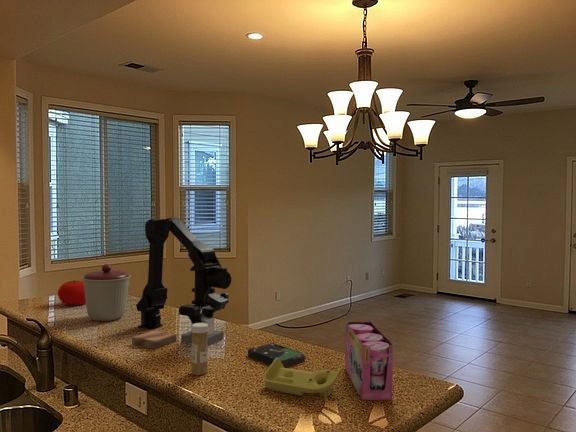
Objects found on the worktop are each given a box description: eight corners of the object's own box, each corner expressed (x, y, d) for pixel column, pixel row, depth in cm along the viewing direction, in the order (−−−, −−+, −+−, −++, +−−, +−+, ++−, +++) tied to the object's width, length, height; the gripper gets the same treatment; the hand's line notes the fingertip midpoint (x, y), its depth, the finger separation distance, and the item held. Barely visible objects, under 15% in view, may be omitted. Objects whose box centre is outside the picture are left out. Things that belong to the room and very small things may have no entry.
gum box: (395, 402, 120) (396, 346, 119) (362, 403, 119) (363, 347, 119) (370, 367, 144) (372, 321, 143) (343, 368, 143) (344, 321, 142)
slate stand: (181, 342, 165) (181, 334, 165) (199, 334, 174) (199, 327, 174) (206, 346, 160) (206, 339, 160) (223, 338, 169) (223, 331, 169)
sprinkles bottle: (208, 375, 136) (208, 326, 135) (191, 376, 135) (191, 326, 134) (207, 369, 140) (207, 321, 139) (190, 370, 139) (191, 322, 138)
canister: (116, 325, 184) (116, 268, 183) (71, 322, 187) (71, 266, 186) (138, 314, 202) (139, 262, 201) (97, 311, 205) (97, 260, 204)
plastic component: (259, 380, 127) (278, 353, 134) (268, 401, 129) (286, 375, 137) (327, 392, 116) (344, 363, 123) (335, 416, 118) (351, 385, 126)
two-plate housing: (191, 333, 166) (191, 317, 166) (199, 330, 170) (199, 314, 170) (206, 335, 164) (206, 320, 163) (214, 332, 168) (214, 317, 168)
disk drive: (247, 358, 152) (280, 370, 141) (247, 349, 152) (280, 360, 141) (272, 351, 159) (305, 362, 149) (272, 342, 159) (305, 352, 149)
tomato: (86, 299, 227) (86, 276, 227) (97, 304, 218) (97, 280, 217) (53, 303, 218) (53, 280, 217) (63, 309, 208) (63, 284, 208)
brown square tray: (131, 344, 161) (131, 337, 161) (153, 337, 170) (153, 329, 170) (155, 349, 157) (156, 341, 157) (176, 341, 166) (176, 333, 166)
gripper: (206, 292, 154) (206, 342, 155) (238, 283, 171) (238, 328, 172) (177, 288, 159) (177, 337, 160) (211, 280, 176) (211, 324, 177)
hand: (202, 331), depth 167 cm, fingers closed on two-plate housing, 4 cm apart
